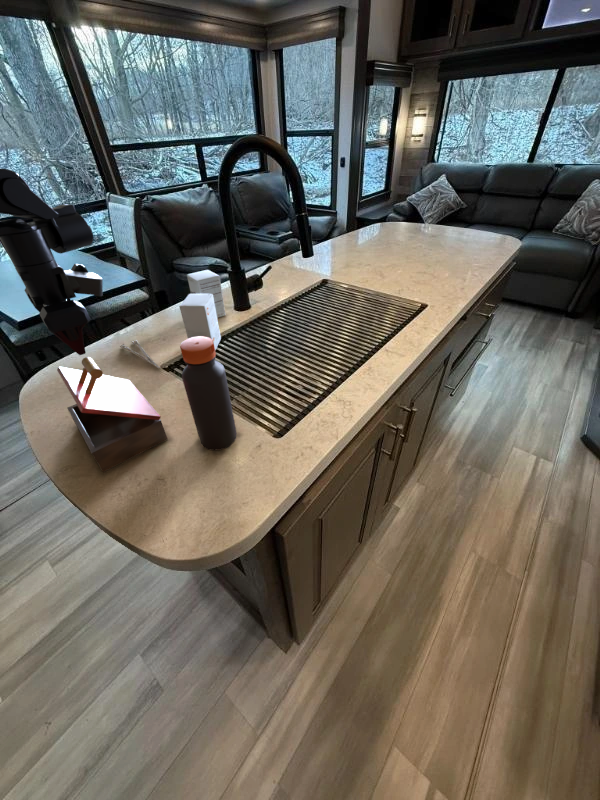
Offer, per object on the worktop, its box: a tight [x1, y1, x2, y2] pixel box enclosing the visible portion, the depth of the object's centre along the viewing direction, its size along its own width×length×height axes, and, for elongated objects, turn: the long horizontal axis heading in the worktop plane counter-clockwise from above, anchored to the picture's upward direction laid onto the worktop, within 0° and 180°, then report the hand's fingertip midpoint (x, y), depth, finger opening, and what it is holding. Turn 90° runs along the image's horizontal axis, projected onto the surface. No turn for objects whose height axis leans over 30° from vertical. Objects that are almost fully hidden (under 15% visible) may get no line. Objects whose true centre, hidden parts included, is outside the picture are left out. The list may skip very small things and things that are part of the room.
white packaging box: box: [186, 269, 227, 319], centre depth 101 cm, size 7×7×13 cm
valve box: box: [67, 403, 169, 473], centre depth 62 cm, size 12×16×5 cm
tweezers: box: [119, 339, 162, 370], centre depth 85 cm, size 17×5×2 cm, turn 47°
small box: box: [179, 293, 222, 351], centre depth 86 cm, size 8×6×13 cm
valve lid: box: [56, 356, 162, 420], centre depth 58 cm, size 12×16×5 cm
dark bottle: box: [179, 336, 237, 451], centre depth 56 cm, size 7×7×20 cm
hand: (76, 345), depth 64 cm, fingers open, 9 cm apart
